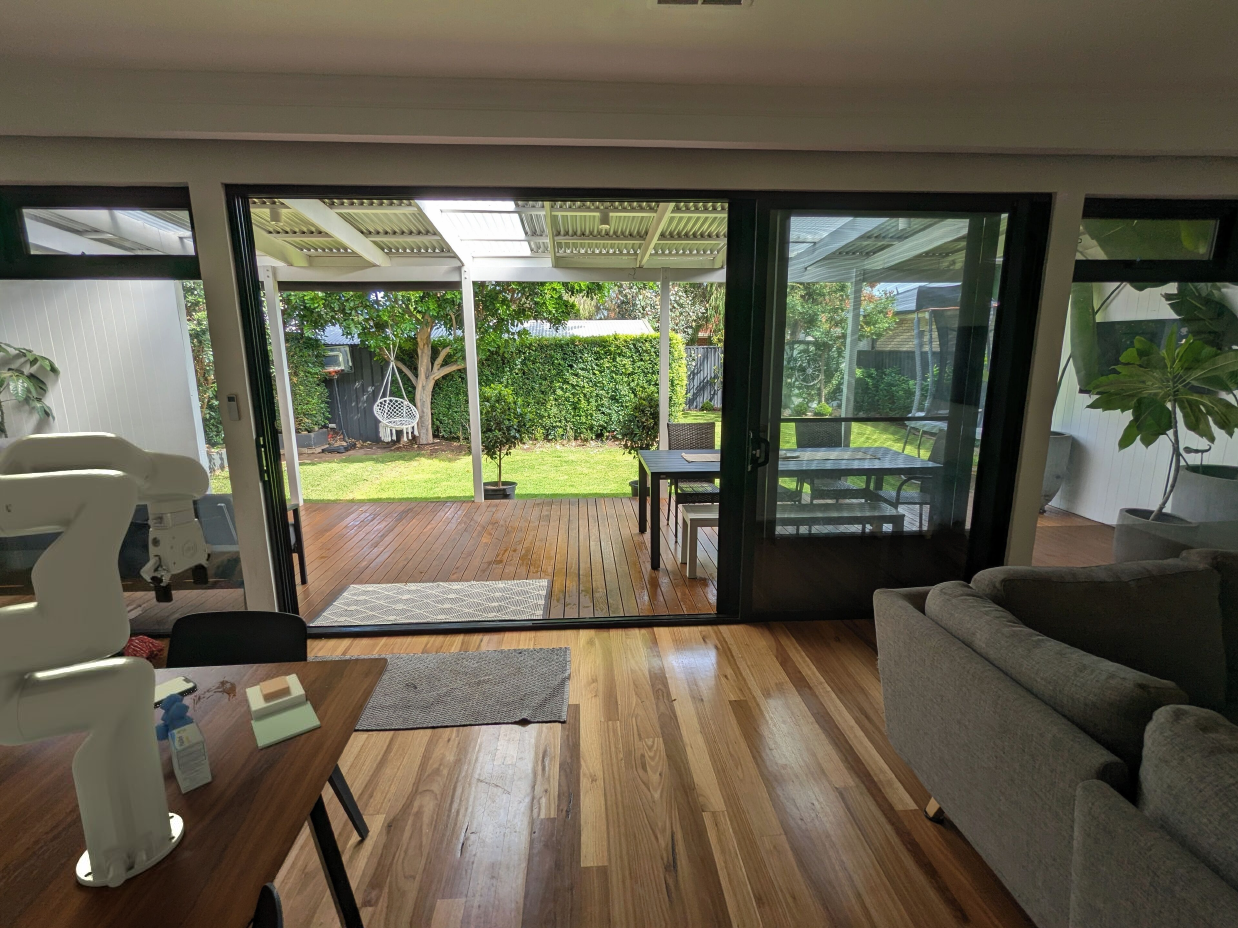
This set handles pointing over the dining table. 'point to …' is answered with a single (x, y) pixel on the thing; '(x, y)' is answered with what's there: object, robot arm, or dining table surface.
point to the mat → (284, 724)
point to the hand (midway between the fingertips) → (183, 592)
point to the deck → (275, 699)
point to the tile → (274, 688)
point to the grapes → (172, 716)
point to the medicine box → (189, 757)
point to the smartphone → (173, 688)
